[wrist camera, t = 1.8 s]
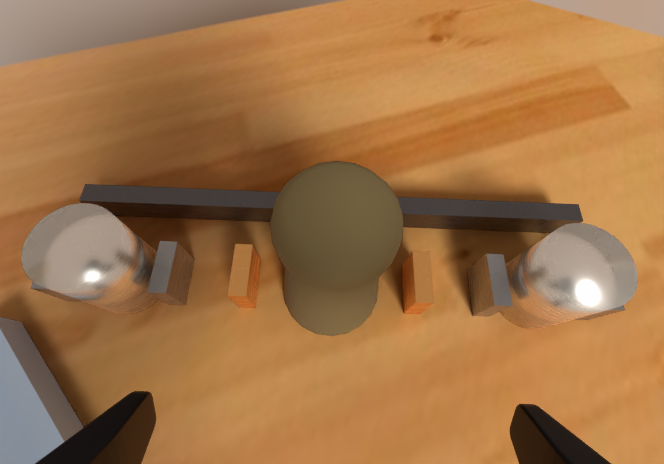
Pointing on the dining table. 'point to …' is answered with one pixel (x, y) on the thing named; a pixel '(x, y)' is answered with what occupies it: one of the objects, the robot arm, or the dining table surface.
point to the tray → (29, 400)
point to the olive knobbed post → (335, 243)
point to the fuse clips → (176, 263)
